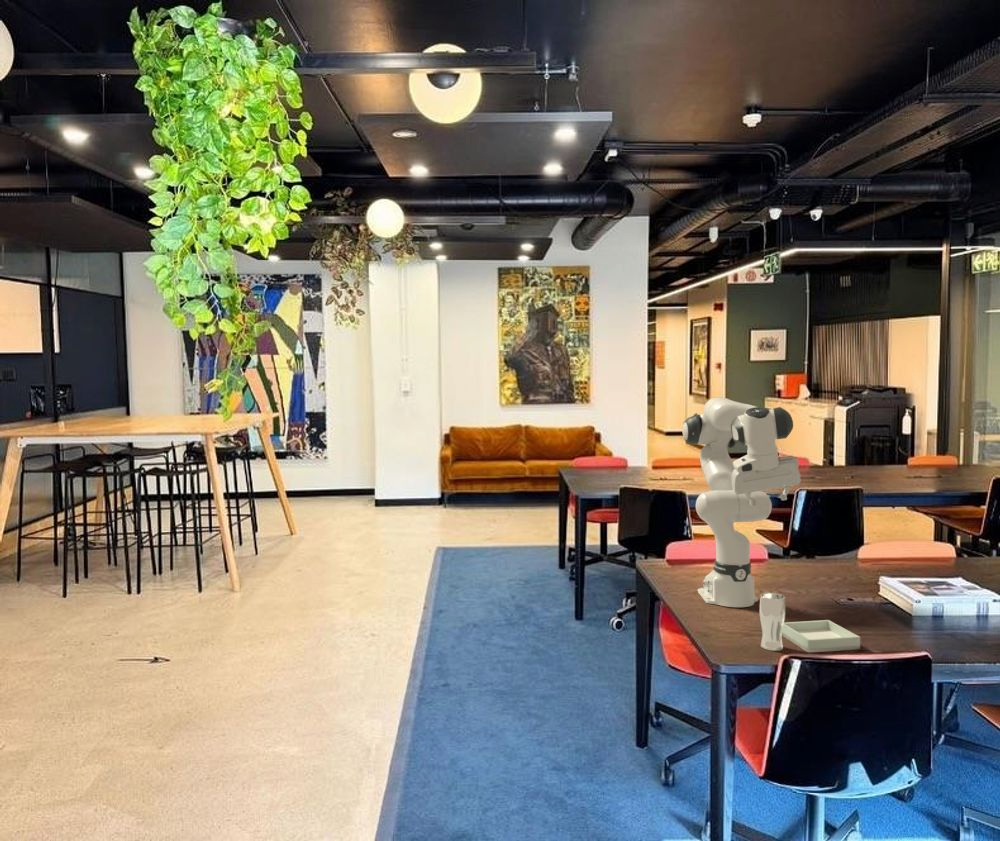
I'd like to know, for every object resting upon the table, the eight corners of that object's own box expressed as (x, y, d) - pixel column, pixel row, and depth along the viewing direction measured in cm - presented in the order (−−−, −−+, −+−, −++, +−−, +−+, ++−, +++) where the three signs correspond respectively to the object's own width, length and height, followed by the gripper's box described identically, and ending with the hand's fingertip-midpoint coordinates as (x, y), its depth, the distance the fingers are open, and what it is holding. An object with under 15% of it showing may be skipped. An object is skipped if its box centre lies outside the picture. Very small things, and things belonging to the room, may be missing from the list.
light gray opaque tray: (779, 634, 218) (780, 622, 217) (828, 631, 220) (828, 619, 220) (808, 652, 203) (808, 640, 203) (860, 649, 205) (860, 637, 205)
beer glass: (778, 642, 211) (779, 592, 210) (788, 651, 204) (789, 599, 203) (755, 643, 210) (755, 592, 209) (764, 651, 203) (765, 599, 203)
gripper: (794, 451, 223) (799, 493, 226) (727, 462, 225) (733, 504, 228) (801, 457, 217) (806, 500, 220) (732, 468, 219) (738, 510, 222)
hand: (768, 502), depth 224 cm, fingers open, 8 cm apart
